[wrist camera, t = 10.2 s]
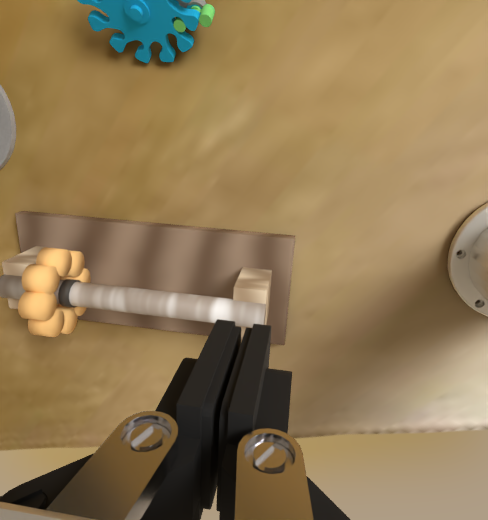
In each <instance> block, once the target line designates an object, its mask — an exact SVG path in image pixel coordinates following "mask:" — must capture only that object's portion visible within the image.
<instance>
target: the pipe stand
mask: <svg viewBox="0 0 488 520" xmlns="http://www.w3.org/2000/svg"><path fill="white" fill-rule="evenodd" d="M15 215H16V222H17V229H18V236H19V243H20V250H21V253H20V254H18V255H16V256H14V257H12V258H9V259H7V260H5V261H3V262H2V266H3V272H4V275H2V276H1V277H0V297H3V298H8V303H9V308H12V309H18V303H19V300H20V297H21V296H22V294H23V293H24V292H25V290H24V289H23V286H22V274H23V272H24V270H25V268H26V267H27V266H28V265H30V264H36V259H37V255H38V253H39V251H40V250H41V249H42V248H45V247H48V248H57V249H66V250H70V251H80V252H81V253H82V254H83V256H84V261H85V263H84V268H85V269H88V270H89V272H90V276H91V280H90V283H87V282H81V281H80V280H74V279H66V280H60V283H59V286H58V288H57V290H56V291H55V292H54V294H55V296H56V299H57V304H61V305H62V306H64V307H73V308H75V307H86V310H85V312H84V314H83V315H81V316H78V319H79V320H87V321H95V322H103V323H111V324H119V325H127V326H135V327H143V328H151V329H159V330H167V331H175V332H183V333H191V334H199V335H207V336H209V335H210V333H211V331H212V329H213V326H214V324H215V322H216V320H217V319H219V320H228V321H235V326H239V327H241V340H242V339H243V336H244V333H245V330H246V327H247V328H252V327H253V324H262V325H270V326H271V341H270V343H271V344H279V345H284V344H285V334H286V324H287V314H288V304H289V294H290V283H291V273H292V263H293V253H294V243H295V236H292V235H281V234H270V233H259V232H248V231H237V230H226V229H215V228H204V227H193V226H182V225H171V224H160V223H149V222H138V221H127V220H116V219H105V218H94V217H83V216H72V215H61V214H50V213H38V212H27V211H21V212H18V213H15Z"/></svg>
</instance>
